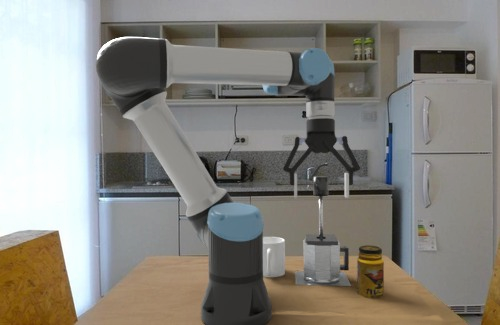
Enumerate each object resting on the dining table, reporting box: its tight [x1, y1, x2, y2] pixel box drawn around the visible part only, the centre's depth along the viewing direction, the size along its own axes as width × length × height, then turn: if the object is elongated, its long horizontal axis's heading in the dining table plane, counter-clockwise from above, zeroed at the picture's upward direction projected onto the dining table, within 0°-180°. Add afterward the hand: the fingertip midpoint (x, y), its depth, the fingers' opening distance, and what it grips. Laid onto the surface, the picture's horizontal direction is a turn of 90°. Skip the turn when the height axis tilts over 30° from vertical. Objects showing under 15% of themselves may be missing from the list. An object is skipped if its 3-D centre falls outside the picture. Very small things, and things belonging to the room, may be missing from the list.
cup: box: [263, 236, 286, 278], centre depth 103 cm, size 8×12×10 cm
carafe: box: [302, 233, 350, 284], centre depth 100 cm, size 12×10×11 cm
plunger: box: [312, 176, 329, 239], centre depth 99 cm, size 7×7×19 cm
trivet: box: [294, 270, 352, 287], centre depth 100 cm, size 14×11×1 cm
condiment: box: [356, 244, 385, 299], centre depth 89 cm, size 7×8×12 cm
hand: (321, 197), depth 99 cm, fingers open, 13 cm apart
